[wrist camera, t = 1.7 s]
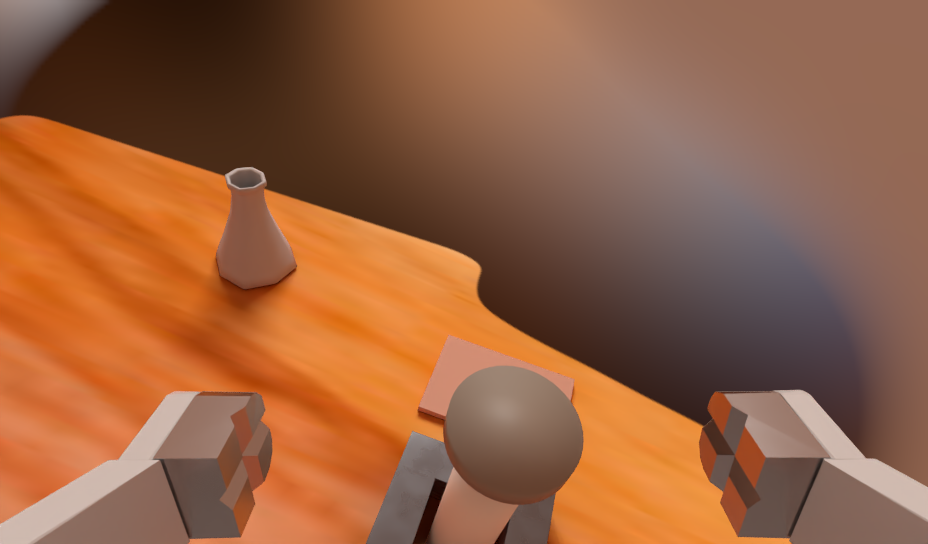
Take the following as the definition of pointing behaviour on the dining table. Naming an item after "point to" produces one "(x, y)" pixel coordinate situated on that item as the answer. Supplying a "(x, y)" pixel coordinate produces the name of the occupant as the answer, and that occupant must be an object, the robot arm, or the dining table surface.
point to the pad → (463, 362)
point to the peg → (503, 451)
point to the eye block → (428, 476)
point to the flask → (252, 235)
